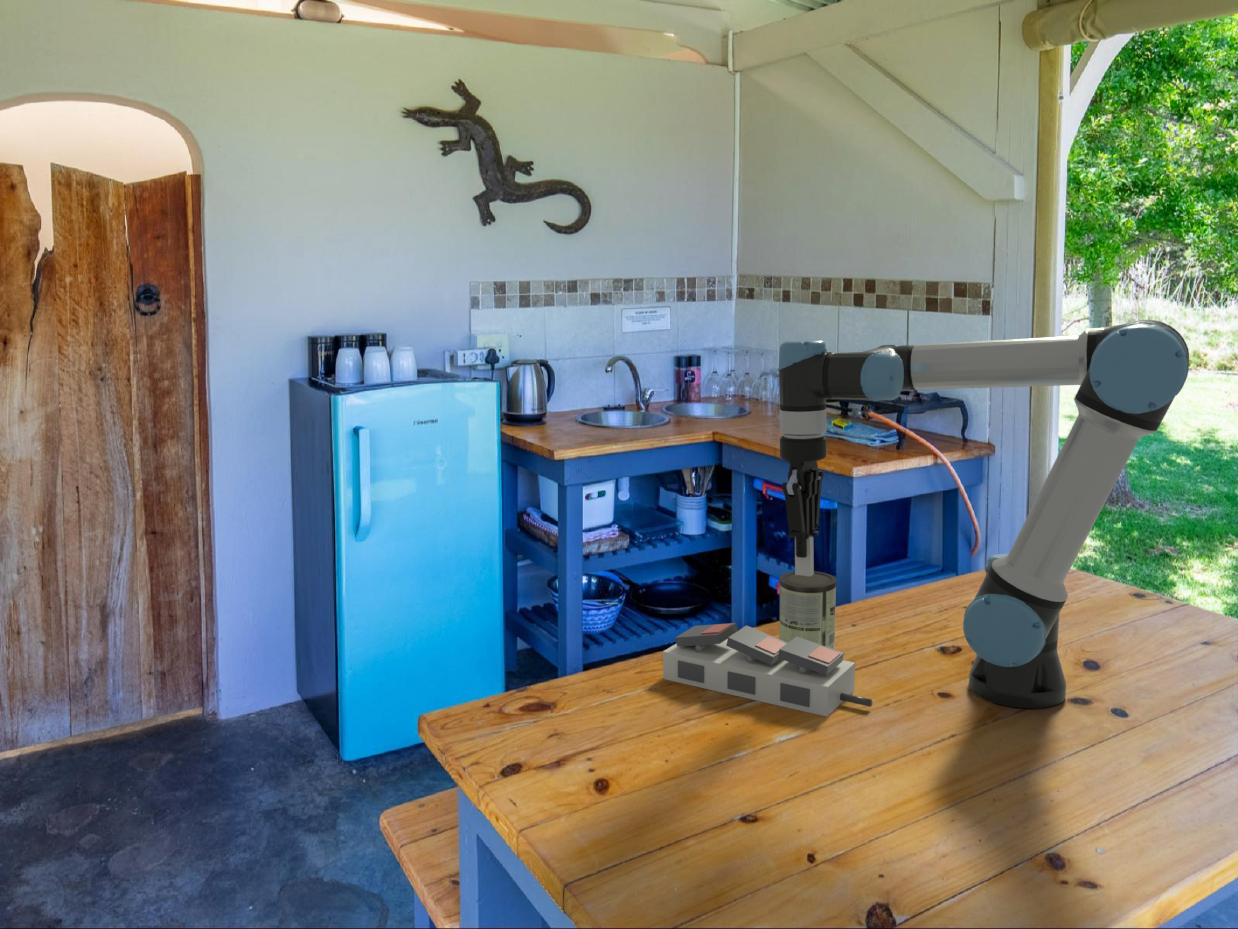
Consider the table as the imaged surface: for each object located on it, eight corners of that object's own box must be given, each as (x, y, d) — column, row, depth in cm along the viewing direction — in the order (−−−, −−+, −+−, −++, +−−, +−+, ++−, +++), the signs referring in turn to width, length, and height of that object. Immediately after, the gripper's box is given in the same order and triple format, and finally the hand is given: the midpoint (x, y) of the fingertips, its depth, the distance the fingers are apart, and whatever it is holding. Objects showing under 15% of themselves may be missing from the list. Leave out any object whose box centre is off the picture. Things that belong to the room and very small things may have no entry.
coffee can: (776, 641, 200) (778, 569, 198) (831, 642, 199) (833, 570, 197) (779, 661, 190) (781, 586, 188) (837, 662, 189) (839, 587, 187)
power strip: (883, 697, 174) (884, 660, 173) (857, 724, 164) (858, 685, 163) (696, 657, 193) (696, 624, 191) (662, 679, 182) (662, 644, 181)
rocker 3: (842, 661, 174) (844, 651, 174) (826, 675, 168) (828, 665, 168) (795, 645, 178) (796, 635, 178) (777, 658, 173) (779, 648, 172)
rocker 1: (738, 631, 184) (736, 621, 184) (719, 644, 178) (717, 633, 178) (696, 634, 189) (694, 624, 189) (677, 646, 183) (675, 636, 183)
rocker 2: (788, 652, 179) (790, 643, 179) (771, 665, 173) (773, 656, 173) (744, 633, 183) (746, 624, 183) (726, 645, 178) (728, 636, 177)
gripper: (795, 428, 180) (797, 562, 184) (766, 439, 169) (768, 582, 173) (838, 430, 176) (839, 567, 180) (810, 441, 165) (812, 587, 169)
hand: (804, 574), depth 176 cm, fingers closed
